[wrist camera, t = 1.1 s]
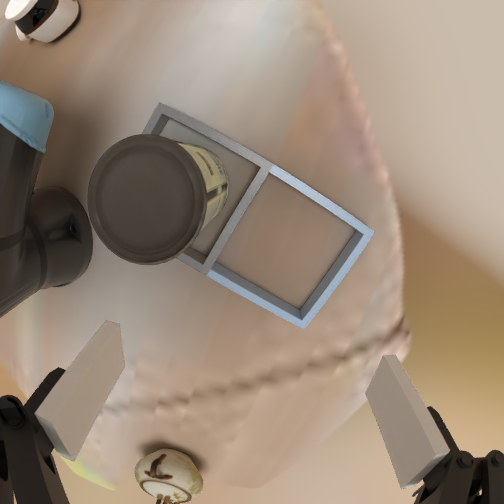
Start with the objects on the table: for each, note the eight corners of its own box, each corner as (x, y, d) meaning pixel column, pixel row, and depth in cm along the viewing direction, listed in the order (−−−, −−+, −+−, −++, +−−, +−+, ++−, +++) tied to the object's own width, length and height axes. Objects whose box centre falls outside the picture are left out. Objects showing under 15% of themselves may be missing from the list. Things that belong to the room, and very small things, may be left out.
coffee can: (136, 202, 35) (72, 225, 21) (173, 130, 32) (119, 113, 19) (203, 243, 36) (168, 289, 23) (245, 171, 33) (232, 174, 20)
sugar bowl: (131, 428, 48) (108, 480, 34) (199, 438, 48) (185, 499, 33) (155, 471, 54) (141, 516, 40) (212, 479, 53) (204, 528, 39)
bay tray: (115, 209, 35) (105, 213, 33) (167, 106, 31) (159, 102, 29) (301, 318, 38) (303, 329, 36) (367, 227, 34) (374, 232, 32)
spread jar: (86, 22, 27) (43, -4, 16) (35, 66, 29) (-12, 54, 18) (75, -14, 24) (39, -40, 13) (28, 26, 26) (-12, 11, 15)
